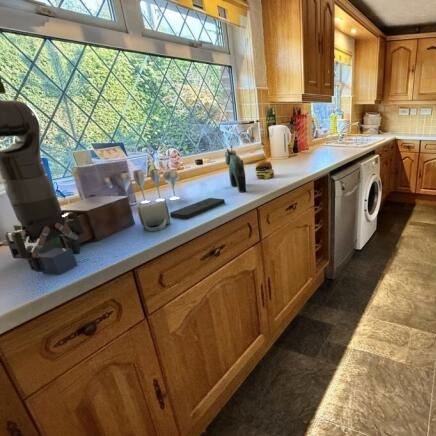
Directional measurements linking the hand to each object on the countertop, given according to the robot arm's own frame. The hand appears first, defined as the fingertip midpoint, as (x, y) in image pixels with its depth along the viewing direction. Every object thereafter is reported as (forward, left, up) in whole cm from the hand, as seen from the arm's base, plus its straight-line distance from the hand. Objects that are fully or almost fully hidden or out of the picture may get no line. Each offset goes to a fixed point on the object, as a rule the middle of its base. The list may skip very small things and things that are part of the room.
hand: (58, 262), depth 72 cm
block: (0, 0, -2) cm, 2 cm away
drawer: (-12, +10, -1) cm, 16 cm away
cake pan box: (-31, +47, -2) cm, 57 cm away
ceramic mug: (+4, +29, -2) cm, 29 cm away
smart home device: (+8, +46, -2) cm, 47 cm away
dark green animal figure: (+9, +79, -2) cm, 79 cm away
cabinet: (-12, +23, -2) cm, 26 cm away
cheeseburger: (+13, +103, -2) cm, 104 cm away
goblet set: (-21, +54, -2) cm, 58 cm away
